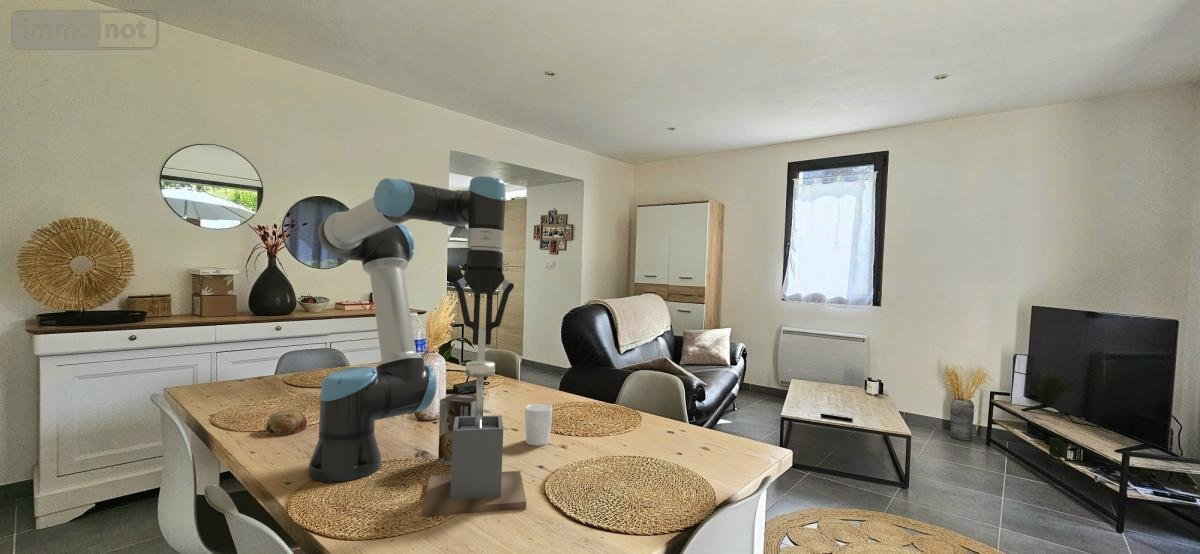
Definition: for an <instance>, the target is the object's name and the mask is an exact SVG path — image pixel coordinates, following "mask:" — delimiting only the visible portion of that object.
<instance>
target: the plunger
mask: <svg viewBox="0 0 1200 554" xmlns="http://www.w3.org/2000/svg"><path fill="white" fill-rule="evenodd" d="M465 364H466V365H465V375H466V376H467V377H471V378H476V388H475V389H476V392H475V395H476V413H475V425H470V426H460V429H477V428H496V425H482V406H483V407H484V398H483V397H484V378H487V377H488V378H489V377H493V376H495V372H496V362H494V361H490V360H485V361H477V360H472V361H467V362H466V363H465Z"/></svg>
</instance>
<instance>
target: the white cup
mask: <svg viewBox="0 0 1200 554" xmlns="http://www.w3.org/2000/svg"><path fill="white" fill-rule="evenodd" d="M552 417H553V406H552V405H550V404H546V403H545V404H544V403H534V404H533V403H532V404H528V405H526V406H524V422H525V423H524V426H525V427H524V428H525V431H524V432H525V443H526V444H527V445H530V446H534V447H535V446H537V447H539V446H546V445H548V444H549V443H550V437H551V430H552V420H553V418H552Z"/></svg>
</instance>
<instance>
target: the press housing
mask: <svg viewBox="0 0 1200 554" xmlns="http://www.w3.org/2000/svg"><path fill="white" fill-rule="evenodd" d="M470 425H475V416H463V417H455V421H454V427H453V438H452V463H451V465H450V466H451V467H450V475H451V488H450V501H451V500H465V499H478V498H492V497H501V477H502V472H503V471H502V470H503V446H504V423H503V419H502V415H501V414H500V415H498V414H497V415H495V414H494V415H483V416H482V425H496V428H477V429H460V426H470Z"/></svg>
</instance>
